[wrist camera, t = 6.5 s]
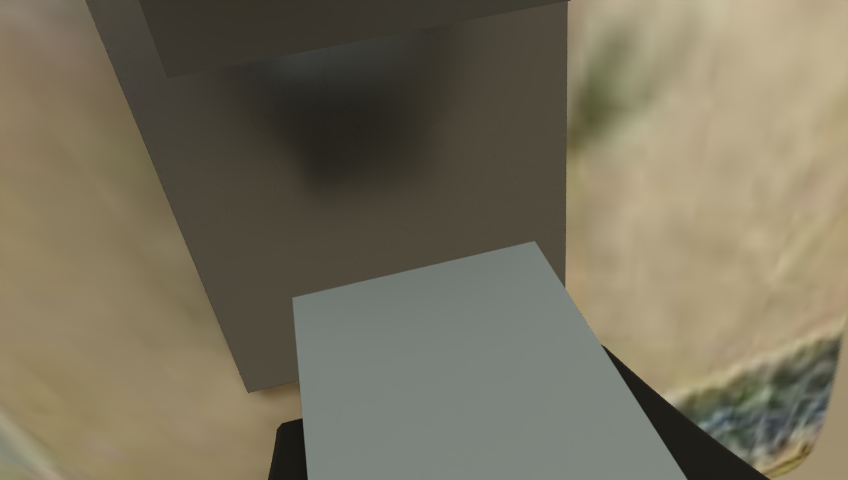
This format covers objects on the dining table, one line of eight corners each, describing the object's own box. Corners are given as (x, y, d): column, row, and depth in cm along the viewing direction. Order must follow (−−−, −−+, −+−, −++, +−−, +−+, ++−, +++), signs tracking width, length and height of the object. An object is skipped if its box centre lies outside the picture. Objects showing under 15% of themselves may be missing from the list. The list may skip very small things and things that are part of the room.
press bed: (547, 285, 22) (580, 340, 20) (248, 358, 21) (247, 424, 19) (534, -698, 10) (613, -835, 8) (-151, -651, 9) (-276, -790, 7)
